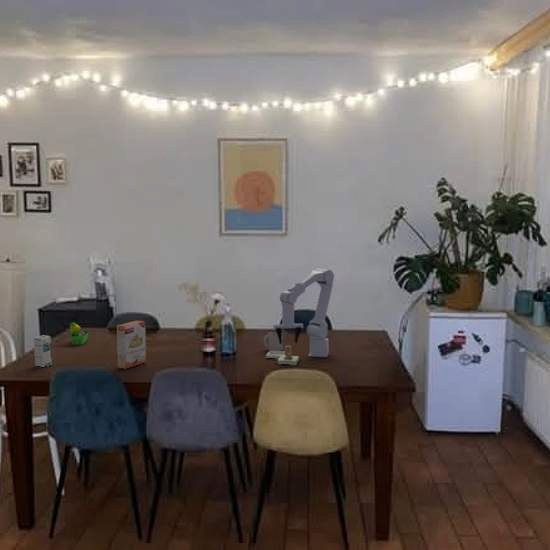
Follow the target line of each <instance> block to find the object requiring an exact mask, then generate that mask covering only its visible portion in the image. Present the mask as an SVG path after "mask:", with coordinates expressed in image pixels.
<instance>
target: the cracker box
mask: <svg viewBox="0 0 550 550" xmlns="http://www.w3.org/2000/svg"><path fill="white" fill-rule="evenodd" d="M146 340H147V339H146V321H144V320H135V321H134V320H133V321H130V322H126V323H122V324H117V325H116V343H117V344H116V345H117V346H116V347H117V348H116V350H117V352H116V353H117V368H118V369H122V368H123V370H128V369H127V368H129V369H131V368H130V367H132V368H134V367H133V366H135V367H137V366H136V365H138V366H140V365H139V364H141V365H143V364H142V363H144V362H146V363H147V358H146V357H147V356H146V355H147V352H146V351H147V346H146V343H147V342H146ZM144 364H145V363H144Z"/></svg>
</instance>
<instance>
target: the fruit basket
mask: <svg viewBox="0 0 550 550" xmlns="http://www.w3.org/2000/svg"><path fill="white" fill-rule="evenodd" d="M69 328H70V333H71V334H70V335H69V337H70V340H71V342H72V345H74V346H76V345H79V346H80V345H84V344H85V343H86V342H87V341H88V338H89V337H88V336H89V334H90V331H85V330H81V325H78V324H77V323H76V322H71V323H70V325H69Z"/></svg>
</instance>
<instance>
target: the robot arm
mask: <svg viewBox="0 0 550 550" xmlns="http://www.w3.org/2000/svg"><path fill="white" fill-rule="evenodd" d="M334 278H335V274H334V272H333V270H331V269H326V268H325V269H324V268H320V267H315V268H314V269H312V270H311V271H310V274H309V275H308V276H306V277H305V278H304V279H303V280H302V281H301V282H299V281H298V282H295V283H294V285H292V286H291V287H289V288H288V289H287V290H283V291H282V292H281V294H280V295H279V301H280V303H281V306H282V314H281V315H282V319H281V321H282V322H281V323H278V324H273V325H272V328H273V330H274V332H276V333H277V335H278V338H279V343H280V344H282V345H283V331H282V330H283V329H285V330H287V329H294V343H295V344H298V341H299V336H300V334H301V332H302V329H304V324H303V323H296V322H295V303H296V302H297V299H298V298H299V297H300V296H301V295H303V294H304V293H305V292H306V289H307V288H308V287H309V286H311V285H313V284H314V283H317V284H318V285H319V287H320V291H319V294H318V300H317V304H316V308H315V313H314V317H313V318H312V319H311V320H309V324H308V325H307V326H306V334H307V335H308V338H309V353H308V355H307V357H314V358H315V357H316V358H319V357H320V358H328V356H329V354H330V353H329V351H330V350H329V338H326V337H327V336H328V332H329V331H328V326H329V325H328V323H327V322H326V316H327V313H328V312H327V311H328V308H329V303H330V299H331V295H332V291H333V290H332V289H333V284H334Z"/></svg>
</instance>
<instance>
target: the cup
mask: <svg viewBox="0 0 550 550" xmlns="http://www.w3.org/2000/svg"><path fill="white" fill-rule="evenodd" d="M267 339H268V340H267ZM267 341H268V342H267ZM263 345H264V347H266V348H268V350H270V351H281V350H282V351H283V343H282V344H280V343H279V338H278V335H277V333H276V331H271V332H269V333H268V334H266V335H265V336H264V338H263Z"/></svg>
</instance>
